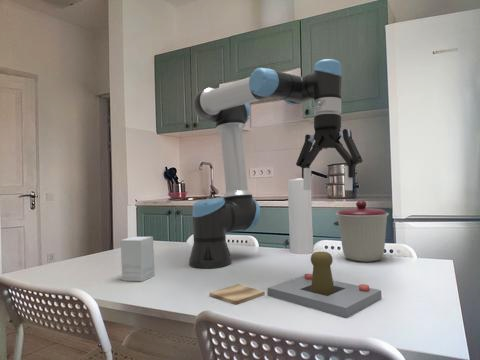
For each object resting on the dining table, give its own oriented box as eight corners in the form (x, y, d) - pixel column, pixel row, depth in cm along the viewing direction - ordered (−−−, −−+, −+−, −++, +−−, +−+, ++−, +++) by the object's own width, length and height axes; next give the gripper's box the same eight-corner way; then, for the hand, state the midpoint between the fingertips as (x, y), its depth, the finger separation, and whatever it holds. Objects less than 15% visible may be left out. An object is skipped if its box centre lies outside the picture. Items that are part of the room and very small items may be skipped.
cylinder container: (313, 253, 138) (310, 177, 138) (289, 253, 140) (286, 178, 140) (313, 249, 147) (310, 178, 148) (290, 249, 149) (288, 178, 150)
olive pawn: (307, 294, 88) (305, 250, 89) (330, 292, 89) (329, 249, 89) (314, 301, 82) (312, 255, 83) (339, 300, 83) (337, 253, 83)
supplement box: (155, 275, 112) (154, 236, 112) (141, 282, 105) (140, 240, 105) (135, 274, 114) (134, 235, 114) (121, 280, 107) (119, 239, 107)
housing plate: (267, 295, 88) (267, 283, 88) (305, 281, 99) (305, 271, 99) (346, 317, 72) (345, 303, 72) (381, 298, 83) (381, 286, 83)
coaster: (209, 295, 90) (209, 292, 90) (238, 287, 96) (238, 284, 96) (235, 304, 82) (235, 301, 82) (264, 294, 89) (264, 291, 89)
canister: (346, 252, 139) (344, 199, 139) (395, 256, 128) (393, 199, 128) (329, 261, 124) (327, 201, 124) (383, 267, 113) (381, 202, 114)
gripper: (285, 119, 106) (284, 189, 105) (361, 105, 88) (361, 189, 87) (300, 123, 111) (299, 190, 110) (375, 110, 93) (375, 190, 92)
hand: (326, 190), depth 99 cm, fingers open, 13 cm apart
